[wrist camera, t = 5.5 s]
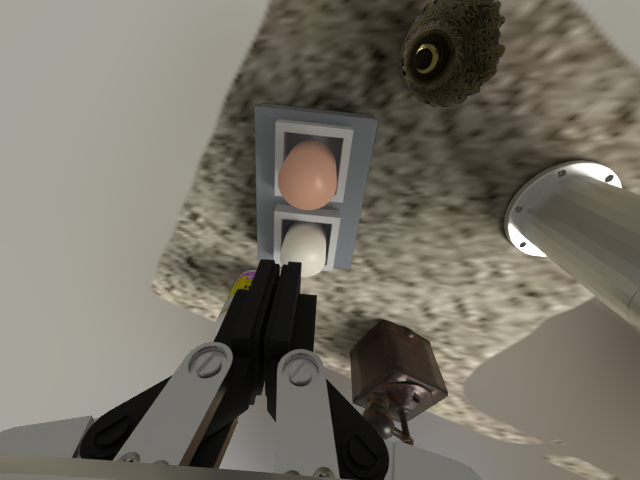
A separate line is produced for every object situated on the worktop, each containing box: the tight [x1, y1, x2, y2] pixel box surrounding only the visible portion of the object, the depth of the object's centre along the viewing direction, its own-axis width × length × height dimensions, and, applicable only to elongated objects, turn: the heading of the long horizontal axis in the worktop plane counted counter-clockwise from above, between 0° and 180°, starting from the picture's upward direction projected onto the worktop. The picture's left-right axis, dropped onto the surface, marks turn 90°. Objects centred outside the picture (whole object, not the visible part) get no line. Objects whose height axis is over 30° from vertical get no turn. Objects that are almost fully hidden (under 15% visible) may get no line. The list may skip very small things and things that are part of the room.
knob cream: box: [280, 220, 326, 277], centre depth 31 cm, size 5×5×5 cm
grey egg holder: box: [254, 103, 378, 271], centre depth 32 cm, size 12×18×6 cm, turn 174°
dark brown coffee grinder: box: [350, 321, 448, 446], centre depth 40 cm, size 16×11×18 cm
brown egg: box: [278, 140, 337, 210], centre depth 24 cm, size 5×5×5 cm
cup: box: [398, 0, 505, 107], centre depth 24 cm, size 8×7×8 cm
